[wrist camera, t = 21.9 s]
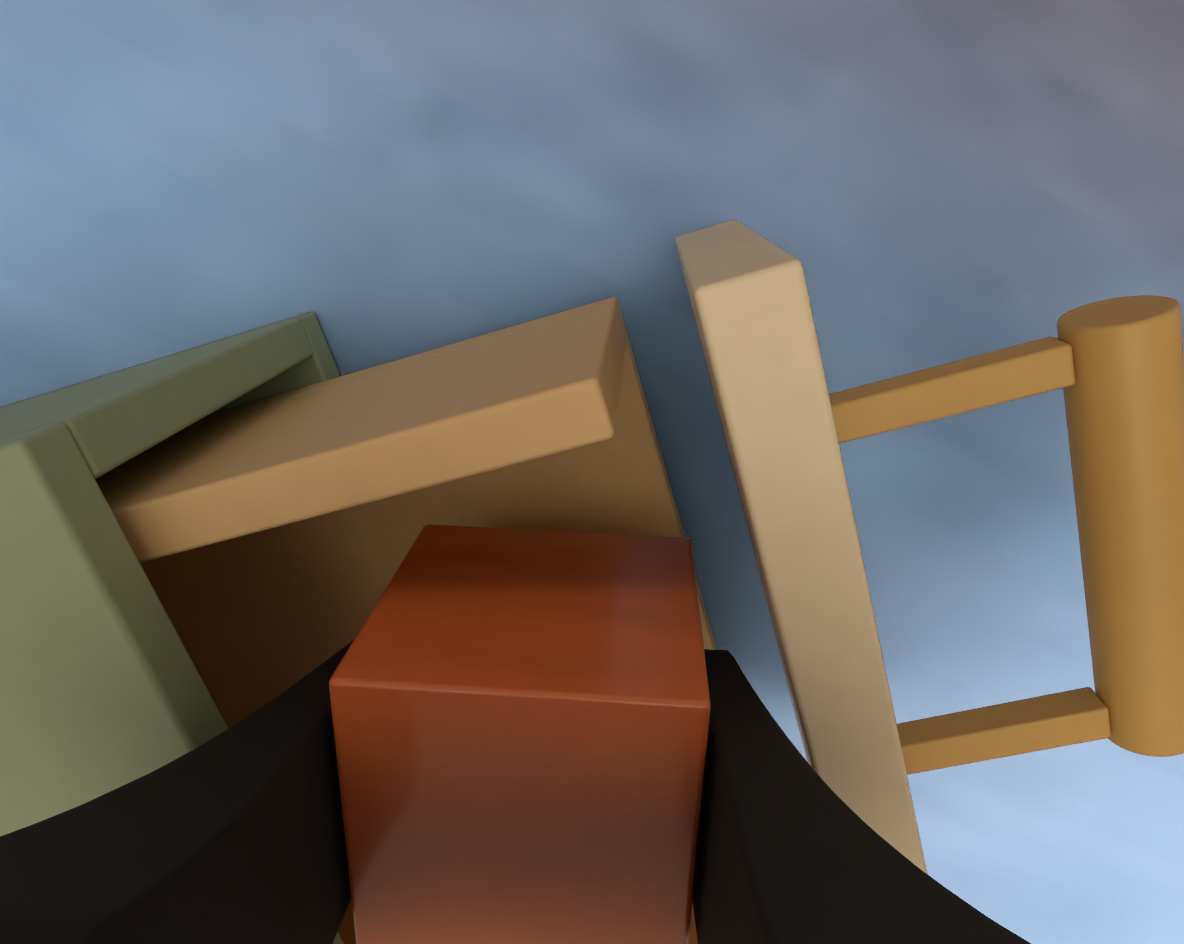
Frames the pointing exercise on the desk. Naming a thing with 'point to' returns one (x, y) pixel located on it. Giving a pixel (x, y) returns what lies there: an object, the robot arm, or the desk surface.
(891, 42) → the desk surface
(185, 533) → the drawer
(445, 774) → the block
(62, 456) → the cabinet
